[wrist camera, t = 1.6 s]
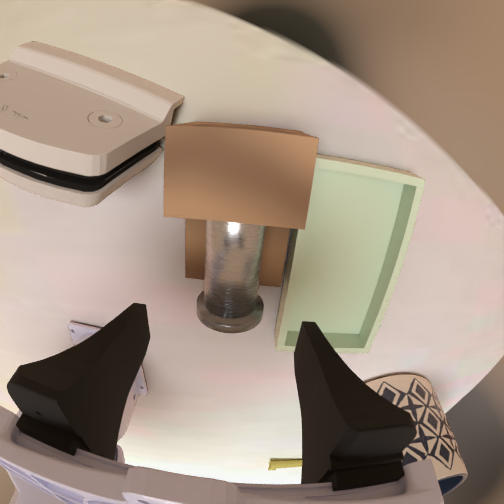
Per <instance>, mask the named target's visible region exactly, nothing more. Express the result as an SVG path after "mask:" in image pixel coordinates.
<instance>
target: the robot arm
mask: <svg viewBox="0 0 504 504" xmlns="http://www.w3.org/2000/svg"><path fill="white" fill-rule="evenodd" d="M68 328H69V331H70V334H71V337H72V340H73V343H74V345H75V346H73V347H71V348H69V349H67V350H65V351H63V352H61V353H59V354H56V355H54V356H51V357H49V358H46V359H43V360H40V361H37V362H33V363H29V364H25V365H20V366H19V367H18V369H17V370H16V372H15V373H14V375H13V376H12V378H11V379H10V381H9V382H8V384H7V389H8V393H9V394H10V396H11V398H12V399H13V401H14V402H15V404H16V405H17V406H18V408H19V409H20V410H19V412H18V413H17V415H16V414H14V413H13V412H11V411H9V410H7V409H5V408H3V407H2V406H0V465H1V466H3V467H4V468H5V469H6V471H7V472H8V474H9V476H10V478H11V480H12V482H13V483H14V485H15V487H16V490H15V492H14V495H13V497H12V499H11V501H10V504H443V503H444V501H443V497H442V493H441V490H440V486H439V483H438V480H437V476H436V473H435V470H434V467H433V464H432V461H431V459H425V460H421V461H417V462H413V463H410V464H407V465H405V466H402V462H401V461H402V460H403V459H404V455H403V452H402V451H403V450H404V449H405V448H406V447H407V446H408V445H409V444H410V443H411V442H412V441H413V440H414V438H415V437H416V434H417V430H416V427H415V424H414V421H413V418H412V416H411V414H410V413H409V412H407V411H405V410H404V409H402V408H400V407H398V406H396V405H394V404H393V403H391V402H390V401H388V400H386V399H385V398H383V397H382V396H381V395H379V394H378V393H376V392H375V391H374V390H373V389H371V388H370V387H369V386H368V385H366V384H365V383H364V382H363V381H362V380H361V379H360V378H359V377H358V376H357V375H356V374H355V373H354V372H353V371H352V370H351V369H350V368H349V367H348V366H347V365H346V364H345V362H344V361H343V360H342V359H341V358H340V356H339V355H338V354H337V352H336V351H335V350H334V348H333V347H332V346H331V344H330V343H329V341H328V340H327V339H326V337H325V336H324V334H323V333H322V331H321V330H320V328H319V327H318V325H317V324H316V322H310V321H302V324H301V328H300V332H299V336H298V340H297V343H296V347H295V351H294V367H295V377H296V383H297V390H298V396H299V402H300V408H301V417H302V479H301V484H285V485H274V484H245V483H231V482H227V481H222V480H217V479H211V478H203V477H196V476H189V475H183V474H177V473H172V472H166V471H161V470H157V469H152V468H146V467H140V466H137V467H136V466H132V465H128V464H125V459H124V455H123V450H122V448H121V447H120V446H119V445H117V441H118V440H119V439H120V438H122V436H123V435H124V434H125V432H126V430H127V427H128V424H129V421H130V418H131V415H132V413H133V410H134V407H135V404H136V401H137V398H138V395H139V394H141V395H147V393H148V390H147V386H146V382H145V378H144V373H143V369H142V362H143V359H144V357H145V354H146V351H147V348H148V344H149V340H150V331H149V324H148V317H147V309H146V305H145V304H138V303H133V304H132V305H131V306H129V307H128V308H127V309H126V310H124V311H123V312H122V313H121V314H119V315H118V316H117V317H116V318H115V319H113V320H112V321H111V322H109V323H108V324H107V325H106V326H104V327H103V328H96V327H92V326H87V325H83V324H79V323H74V322H69V324H68Z"/></svg>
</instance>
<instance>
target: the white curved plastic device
mask: <svg viewBox="0 0 504 504" xmlns="http://www.w3.org/2000/svg"><path fill="white" fill-rule="evenodd" d="M183 100H184V96H182V95H179V94H177V93H175V92H173V91H171V90H169V89H166V88H164V87H162V86H159V85H157V84H155V83H153V82H150V81H148V80H145V79H143V78H141V77H138V76H136V75H133V74H131V73H128V72H126V71H123V70H121V69H118V68H115V67H113V66H110V65H107V64H105V63H102V62H99V61H96V60H94V59H91V58H88V57H85V56H82V55H79V54H76V53H73V52H70V51H66V50H63V49H60V48H56V47H53V46H50V45H46V44H42V43H39V42H35V41H32V42H29V43H25V44H22V45H20V46H18V47H17V49H16V50H15V51H14V53H13V54H12V56H11V57H10V59H9V60H8V61H6V62H4V63H2V64H0V178H2V179H4V180H5V181H7V182H9V183H11V184H13V185H15V186H17V187H19V188H22V189H24V190H26V191H29V192H31V193H34V194H37V195H40V196H43V197H45V198H49V199H52V200H56V201H60V202H64V203H68V204H73V205H77V206H82V207H91V206H95V205H97V204H99V203H100V202H101V201H102V200H104V199H105V198H106V197H107V196H109V195H110V194H111V193H112V192H114V191H115V190H116V189H117V188H119V187H120V186H121V185H123V184H124V183H125V182H127V181H128V180H129V179H131V178H132V177H133V176H135V175H136V174H137V173H139V172H140V171H141V170H143V169H144V168H146V167H147V166H148V165H150V164H151V163H153V162H154V161H155V160H156V158H157V157H158V156H159V154H160V153H161V151H162V150H163V149H162V148H160V147H159V143H157V142H156V141H158V140H160V139H161V138H162V137H164V136H165V132H166V126H167V125H171V121H172V116H173V111H174V109H175V108H177V107H178V106H180V105H181V104H182V103H183Z"/></svg>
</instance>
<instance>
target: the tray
mask: <svg viewBox="0 0 504 504" xmlns="http://www.w3.org/2000/svg"><path fill="white" fill-rule="evenodd" d="M424 184H425V179H423V178H421V177H419V176H417V175H415V174H413V173H411V172H408V171H404V170H399V169H395V168H390V167H386V166H381V165H376V164H371V163H366V162H361V161H356V160H350V159H345V158H339V157H333V156H327V155H321V154H317V156H316V163H315V169H314V176H313V183H312V189H311V195H310V202H309V208H308V214H307V220H306V226H305V230H302V229H293V228H292V234H291V240H290V246H289V252H288V259H287V265H286V270H285V276H284V282H283V288H282V294H281V299H280V305H279V310H278V316H277V321H276V327H275V346H276V351H293V352H294V351H295V347H296V343H297V340H298V336H299V332H300V328H301V324H302V321H310V322H316V324H317V325H318V327H319V328H320V330H321V331H322V333H323V334H324V336H325V337H326V339H327V340H328V341H329V343H330V344H331V346H332V347H333V348H334V350H335V351H336V352H337V353H368V352H369V350H370V348H371V345H372V343H373V341H374V339H375V336H376V334H377V331H378V329H379V327H380V324H381V322H382V319H383V317H384V314H385V312H386V309H387V307H388V304H389V301H390V299H391V296H392V293H393V291H394V288H395V285H396V282H397V279H398V276H399V274H400V271H401V268H402V265H403V261H404V258H405V255H406V252H407V249H408V245H409V242H410V239H411V235H412V232H413V228H414V225H415V221H416V217H417V213H418V209H419V205H420V201H421V197H422V193H423V189H424Z"/></svg>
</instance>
